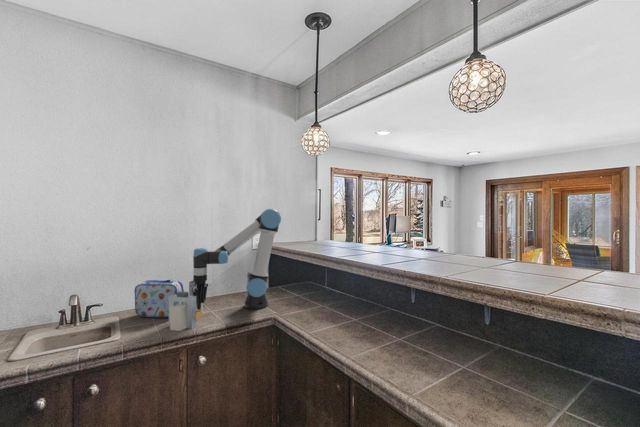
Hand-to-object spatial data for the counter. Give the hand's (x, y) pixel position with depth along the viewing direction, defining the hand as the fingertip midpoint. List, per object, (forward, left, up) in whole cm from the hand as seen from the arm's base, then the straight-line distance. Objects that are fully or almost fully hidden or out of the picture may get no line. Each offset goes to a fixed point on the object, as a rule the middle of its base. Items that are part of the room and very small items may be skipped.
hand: (200, 313), depth 177 cm
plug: (0, +11, -1) cm, 11 cm away
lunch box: (+24, +4, -2) cm, 24 cm away
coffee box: (+16, -20, -2) cm, 25 cm away
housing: (0, +16, -1) cm, 16 cm away
